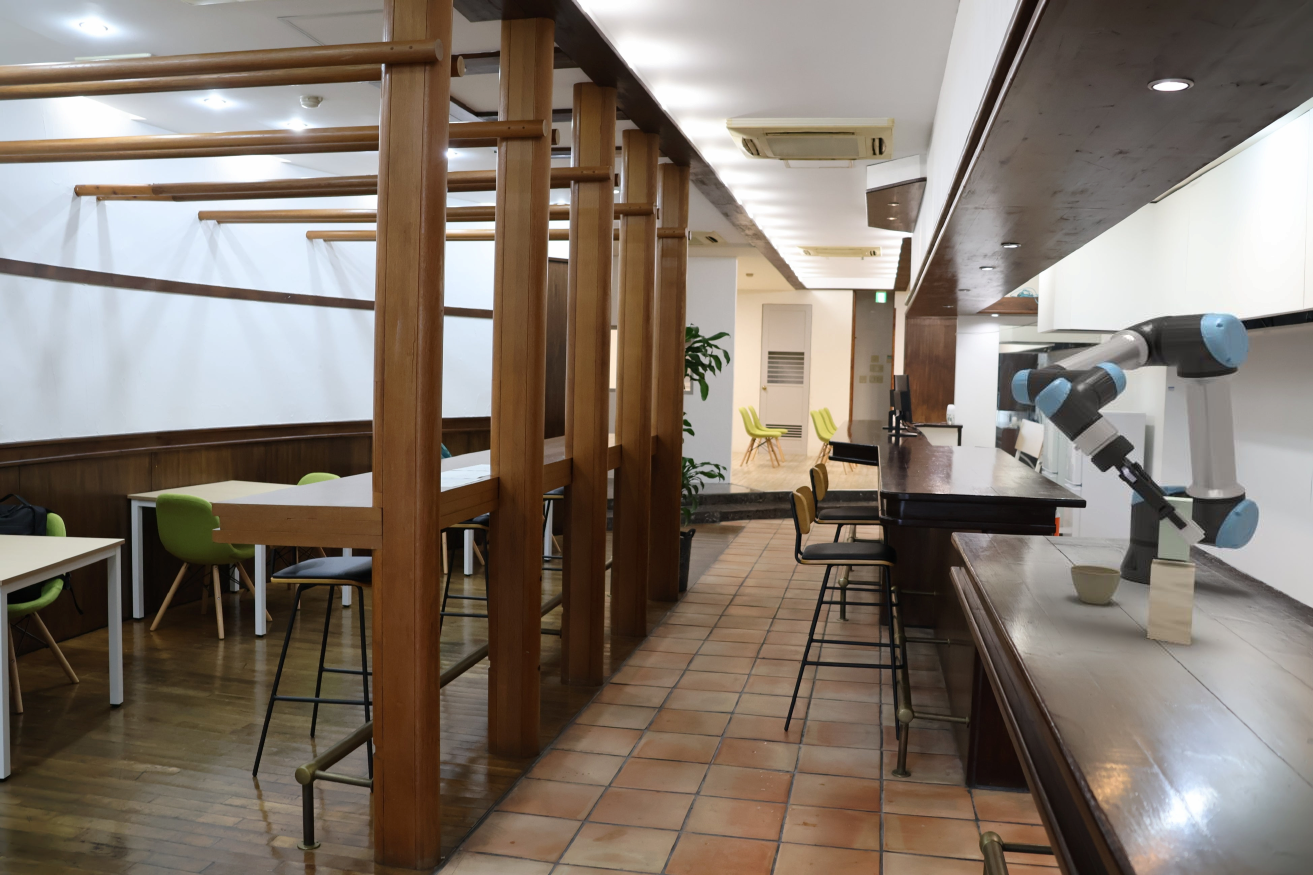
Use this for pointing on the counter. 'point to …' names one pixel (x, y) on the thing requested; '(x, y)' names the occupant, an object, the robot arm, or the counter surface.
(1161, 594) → the tower top
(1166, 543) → the sage block
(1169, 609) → the tower base
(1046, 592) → the counter surface
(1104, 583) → the flower pot
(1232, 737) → the counter surface
